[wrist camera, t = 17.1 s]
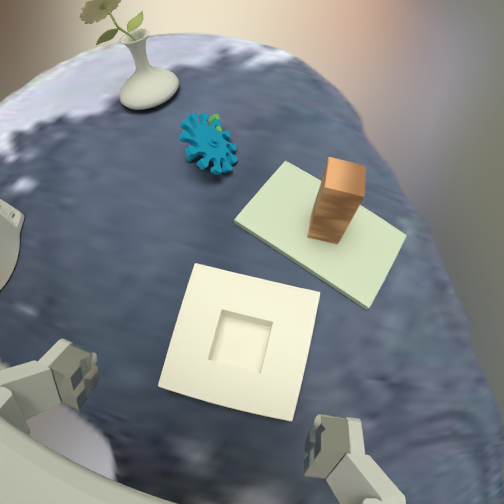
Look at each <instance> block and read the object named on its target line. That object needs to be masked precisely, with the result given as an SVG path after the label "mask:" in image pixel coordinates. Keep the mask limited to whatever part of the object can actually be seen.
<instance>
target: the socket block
mask: <svg viewBox="0 0 504 504" xmlns="http://www.w3.org/2000/svg"><path fill="white" fill-rule="evenodd" d="M319 296H320V292H316V291H312V290H307V289H303V288H298V287H294V286H290V285H285V284H281V283H276V282H272V281H268V280H263V279H259V278H255V277H250V276H246V275H242V274H238V273H233V272H229V271H225V270H221V269H217V268H213V267H208V266H204V265H200V264H196V263H195V265H194V268H193V271H192V274H191V277H190V280H189V283H188V287H187V290H186V293H185V296H184V299H183V303H182V306H181V309H180V312H179V315H178V319H177V322H176V325H175V329H174V332H173V335H172V339H171V342H170V346H169V349H168V352H167V356H166V359H165V363H164V366H163V370H162V373H161V377H160V381H159V384H158V386H159V387H162V388H165V389H168V390H171V391H174V392H177V393H180V394H183V395H187V396H190V397H193V398H197V399H200V400H204V401H207V402H211V403H214V404H218V405H222V406H226V407H229V408H233V409H237V410H241V411H246V412H250V413H254V414H259V415H263V416H268V417H273V418H278V419H283V420H288V421H292V420H293V416H294V412H295V408H296V404H297V400H298V396H299V391H300V387H301V383H302V379H303V374H304V370H305V365H306V361H307V356H308V352H309V347H310V342H311V337H312V332H313V328H314V322H315V317H316V312H317V307H318V302H319Z"/></svg>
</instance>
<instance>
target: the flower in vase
mask: <svg viewBox="0 0 504 504" xmlns="http://www.w3.org/2000/svg"><path fill="white" fill-rule="evenodd" d="M120 2H121V0H87V1H86V2H85V5H83V6H82V8H81V9H82V10H83V12H82V13H81V14H80V18H81V20H82V21H85V20H86V21H85V24H88V23H89V24H92V23H93V22H95V21H96V22H99V21H100V20H101V19H104V18H106V16H107V15H110V16H111V18H112V20H113V21H114V24H115V25H116V27H117V28H118V29H119V30H121V31H122V32H124V33H125V35H124V36H122V38H121V39H120V42H121V43H122V44H124V45H126V46H127V47H128V48H129V50H130V51H131V53H132V55H133V58H134V61H135V65H136V71H135V73H134V74H133V75H132V76H131V77H130V78H129V79H128V80H127V81H126V82H125V84H124V85H123V87H122V89H121V91H120V102H121V103H122V104H123V105H124V106H126V107H128V108H130V109H135V110H142V109H149V108H152V107H155V106H158V105H160V104H162V103H164V102H166V101H167V100H169V99H170V98H171V97H172V96H173V95H174V94H175V92H176V90H177V89H178V86H179V80H178V78H177V77H176V75H175V74H174V73H172V72H170V71H168V70H166V69H162V68H156V67H152V66H151V65H150V64H149V62H148V59H147V55H146V39H147V37H148V35H149V33H150V31H149V30H147V29H138V30H135V29H136V28H138V27H139V26H140V25H141V23H142V21H143V12H141V13H139V14H138V15H137V16H136V17H134V18H133V19H131V20H130V21H129V22H128V24H127V31H128V32H129V33H128V32H126V31H124V30H123V29H121V28H120V27H119V26H118V25H117V23H116V22H115V19H114V18H113V16H112V14H111V12H112V11H113V10H114V9H116V8H117V7H118V3H120ZM118 29H111V30H108V31H106V32H105V33H103V34H102V35H101V37H100V38H99V39H98V41H97V43H96V45H98V44H100V43H102V42H105V41H108V40H111V39H112V38H113V37H114V36H115V35H116V33H117V32H118ZM133 30H134V31H133Z"/></svg>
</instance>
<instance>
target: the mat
mask: <svg viewBox="0 0 504 504" xmlns="http://www.w3.org/2000/svg"><path fill="white" fill-rule="evenodd" d="M320 184H321V181H320V180H318V179H317V178H315V177H313V176H311V175H310V174H308V173H306V172H304V171H303V170H301V169H299V168H297V167H296V166H294V165H292V164H290V163H288V162H287V161H285V162H284V163H283V164H282V165H281V166H280V167H279V169H278V170H277V171H276V172H275V173H274V174H273V175H272V177H271V178H270V179H269V180H268V181H267V182H266V183H265V185H264V186H263V187H262V188H261V189H260V190H259V191H258V193H257V194H256V195H255V196H254V197H253V198H252V200H251V201H250V202H249V203H248V204H247V205H246V206H245V208H244V209H243V210H242V211H241V212H240V213H239V215H238V216H237V217H236V218H235V219H234V223H235V224H236V225H238V226H239V227H241V228H242V229H244V230H246V231H247V232H249V233H250V234H252V235H253V236H255V237H256V238H258V239H259V240H261V241H263V242H264V243H266V244H267V245H269V246H270V247H272V248H273V249H275V250H276V251H278V252H279V253H281V254H282V255H284V256H286V257H287V258H289V259H290V260H292V261H293V262H295V263H296V264H298V265H299V266H301V267H302V268H304V269H305V270H307V271H308V272H310V273H311V274H313V275H314V276H316V277H318V278H319V279H321V280H322V281H324V282H325V283H327V284H328V285H330V286H331V287H333V288H334V289H336V290H337V291H339V292H340V293H342V294H343V295H345V296H346V297H348V298H349V299H351V300H352V301H354V302H355V303H357V304H358V305H360V306H361V307H363V308H364V309H366V310H367V309H368V308H369V307H370V306H371V304H372V302H373V300H374V298H375V297H376V295H377V293H378V291H379V289H380V287H381V285H382V284H383V282H384V280H385V278H386V276H387V274H388V272H389V270H390V268H391V266H392V264H393V262H394V260H395V258H396V256H397V254H398V252H399V250H400V248H401V246H402V244H403V242H404V240H405V238H406V236H407V235H405V234H404V233H402V232H401V231H399V230H398V229H396V228H395V227H393V226H392V225H390V224H389V223H387V222H386V221H384V220H383V219H381V218H380V217H378V216H377V215H375V214H374V213H372V212H370V211H369V210H367V209H366V208H364V207H363V206H361V205H360V206H359V208H358V209H357V211H356V213H355V215H354V217H353V218H352V220H351V222H350V224H349V226H348V227H347V229H346V231H345V233H344V235H343V236H342V238H341V240H340V242H339V243H338V244H334V243H329V242H325V241H321V240H316V239H312V238H308V237H307V236H308V230H309V225H310V219H311V214H312V209H313V206H314V203H315V200H316V197H317V194H318V190H319V187H320Z"/></svg>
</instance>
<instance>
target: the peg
mask: <svg viewBox="0 0 504 504" xmlns="http://www.w3.org/2000/svg"><path fill="white" fill-rule="evenodd" d="M365 173H366V166H363V165H359V164H356V163H352V162H348V161H344V160H340V159H336V158H332V157H329V158H328V162H327V165H326V168H325V171H324V175H323V178H322V181H321V184H320V187H319V190H318V194H317V197H316V200H315V203H314V206H313V209H312V214H311V219H310V225H309V230H308V236H307V237H308V238H312V239H316V240H321V241H325V242H329V243H334V244H338V243H339V242H340V240H341V238H342V236H343V235H344V233H345V231H346V229H347V227H348V226H349V224H350V222H351V220H352V218H353V217H354V215H355V213H356V211H357V209H358V208H359V206H360V204H361V202H362V200H363V198H364V192H365Z"/></svg>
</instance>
